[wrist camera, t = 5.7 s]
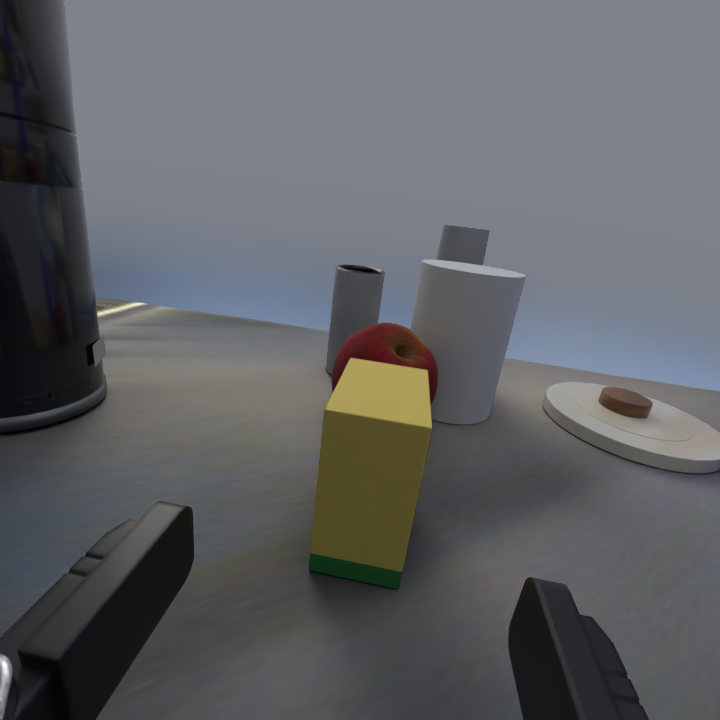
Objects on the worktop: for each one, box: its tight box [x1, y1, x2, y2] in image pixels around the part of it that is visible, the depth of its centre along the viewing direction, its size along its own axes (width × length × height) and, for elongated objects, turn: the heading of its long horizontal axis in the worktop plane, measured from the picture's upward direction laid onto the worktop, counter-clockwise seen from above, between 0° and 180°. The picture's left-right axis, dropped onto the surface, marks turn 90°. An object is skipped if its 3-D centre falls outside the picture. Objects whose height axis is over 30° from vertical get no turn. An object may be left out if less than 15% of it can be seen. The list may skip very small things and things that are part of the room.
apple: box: [332, 323, 438, 405], centre depth 29 cm, size 8×8×8 cm
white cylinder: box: [410, 260, 526, 425], centre depth 33 cm, size 8×8×12 cm
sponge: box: [309, 358, 432, 589], centre depth 18 cm, size 4×6×8 cm, turn 172°
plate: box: [543, 382, 720, 473], centre depth 35 cm, size 14×14×1 cm
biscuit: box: [598, 387, 653, 418], centre depth 36 cm, size 4×4×1 cm
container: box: [437, 225, 489, 266], centre depth 41 cm, size 5×5×15 cm
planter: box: [326, 265, 385, 375], centre depth 38 cm, size 4×4×10 cm
